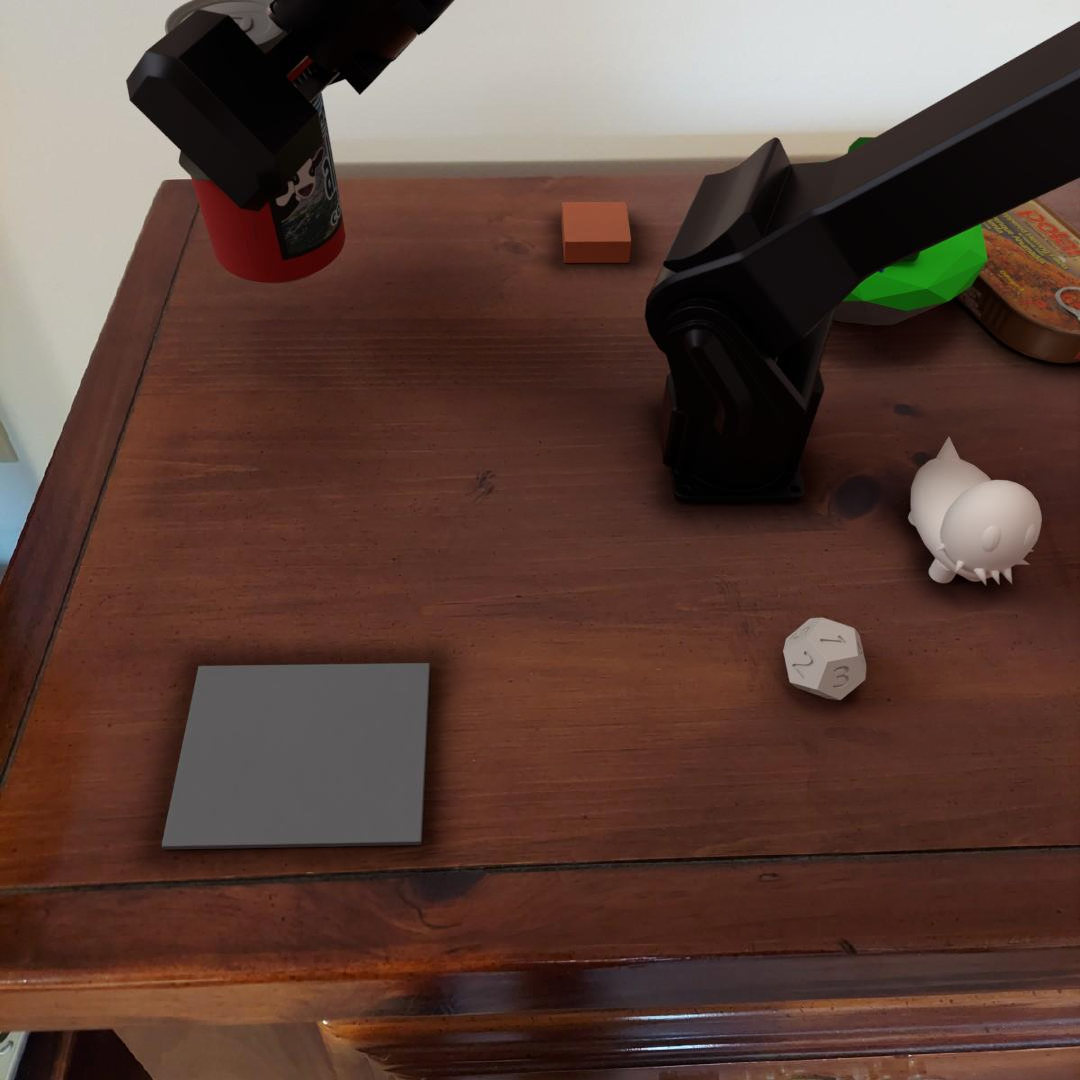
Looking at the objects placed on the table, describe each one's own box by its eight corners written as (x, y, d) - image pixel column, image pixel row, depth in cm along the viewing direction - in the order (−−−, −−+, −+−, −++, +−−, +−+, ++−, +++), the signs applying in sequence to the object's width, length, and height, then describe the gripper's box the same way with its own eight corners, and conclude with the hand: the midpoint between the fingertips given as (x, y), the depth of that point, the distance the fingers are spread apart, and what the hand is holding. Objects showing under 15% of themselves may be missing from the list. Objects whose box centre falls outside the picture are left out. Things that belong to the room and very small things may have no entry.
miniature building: (979, 367, 56) (1064, 194, 47) (770, 367, 56) (817, 193, 47) (925, 235, 63) (990, 64, 55) (740, 235, 63) (776, 63, 54)
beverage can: (344, 293, 51) (301, 57, 41) (208, 298, 50) (133, 61, 41) (351, 213, 55) (313, -18, 45) (226, 217, 54) (161, -15, 45)
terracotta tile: (624, 223, 64) (626, 201, 63) (629, 263, 62) (631, 241, 60) (561, 223, 64) (562, 201, 63) (563, 263, 62) (564, 241, 60)
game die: (772, 638, 45) (786, 601, 43) (854, 645, 45) (873, 608, 43) (776, 708, 43) (792, 673, 41) (863, 715, 43) (883, 680, 41)
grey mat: (430, 667, 44) (429, 662, 44) (422, 845, 39) (421, 841, 39) (200, 670, 44) (198, 665, 44) (163, 850, 39) (160, 846, 39)
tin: (892, 191, 62) (1006, 157, 64) (880, 234, 64) (990, 199, 66) (1054, 348, 54) (1180, 304, 55) (1032, 390, 56) (1153, 346, 58)
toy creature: (927, 621, 46) (977, 539, 41) (878, 487, 51) (918, 399, 46) (1024, 616, 46) (1086, 533, 41) (966, 483, 51) (1016, 395, 46)
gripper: (375, -373, 39) (201, -96, 50) (77, -223, 28) (-61, 87, 39) (564, -112, 43) (365, 88, 54) (370, 102, 32) (172, 297, 44)
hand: (229, 130), depth 48 cm, fingers closed on beverage can, 7 cm apart
